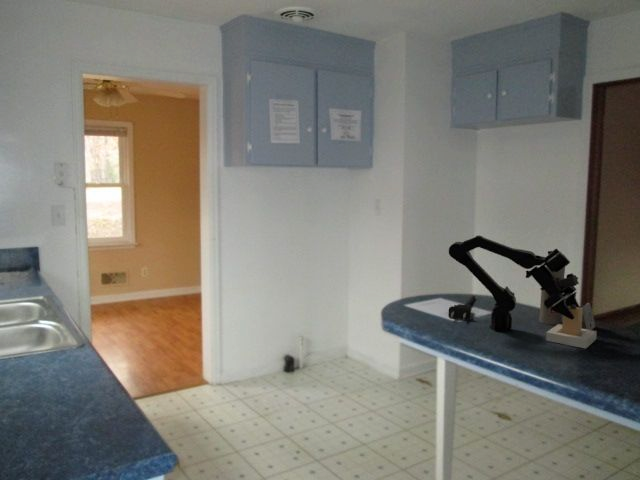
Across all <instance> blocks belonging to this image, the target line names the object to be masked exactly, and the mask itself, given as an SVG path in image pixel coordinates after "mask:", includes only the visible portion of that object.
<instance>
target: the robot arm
mask: <svg viewBox="0 0 640 480" xmlns="http://www.w3.org/2000/svg"><path fill="white" fill-rule="evenodd" d="M478 248H480V249H483V250H485V251H488V252H491V253H493V254H496V255H498V256H501V257H503V258H506V259H509V260H510V261H512V262H513V263H515V264H516V265H518V266H519V267H521V268H523V269H525V279H529V278H531V277H532V278H533V279H534V281H536V283H537V284H538V285H539V286H540V291H541V290H542V291H543V290H544V291H545V292H546V293H547V294H548V295H549V297H548V299H546V300H545V301H544V305H545V307H546V308H547V309H548V308H550V307H551V306H553V307H552V308H550V310H553V311H555V312H558V313H560V314H562V316H563V315H564V316H566V317H568V318H570V319H571V320H572V319H574V316H573V314H572V313H571V311H570V310H569V308H568V307H567V306H571V304H573V305H576V307H578V308H580V307H579V306H580V305H579V303H578V301H577V298H576V297H577V296H576V295H577V294H578V293H577V290H578V289H577V288H576V287H575V286H577V285H579V284H580V283H579V280H578V279H579V277H578V276H577V275H576V274H573V272H571V273H568V274H566V277H564V279H561V280H560V279H559V278H558V277H556V278H555V277H554V276H553V275H552V274H551V273H550V271H549V270H548V269H547V268H546V267H545V265H546V266H547V267H548V268H549V269H550V270H551V271H552V272H555V271H556V272H559V271H560V270H561V269H563V268H564V267H565V268H566V267H567V266H568V265H569V264H571V261H570V260H569V259H568V258H567V257H566V255H565V254H564V253H561V251H560V250H559V249H558V248H554V249H553V250H552V251H553V252H552V253H550V254H549V255H548V254H547V256H541V255H537V254H536V253H535V252H533V251H530V250H525V249H519V248H513V247H511V246H507V245H505V244H502V243H500V242H497V241H494V240H492V239H488V238H486V237H484V236H482V235H480V234H479V235H476V236H474V237H471V238H470V239H467V240H464V241H455V242H454V243H452V244H451V245H450V246H449V247H448V254H449V257H450V258H452V259H454V260H455V261H456V262H457V263H459V264H461V265H462V266H464V267H465V268H466V269H467V270H468V271H469V272H470V273H471V274H472V275H473V276H474V277H475V278H476V279H477V280H478V281H479V282H480V283H481V285H483V287H484V288H485V289H487V291H488V292H489V293H490V294H491V295H492V297H493V299H494V301H495V304H494V305H493V307H492V311H491V314H490V315H491V316H490V317H491V320H490V325H488V328H490V329H492V330H493V331H495V332H513V329H512V326H513V325H512V324H513V317H512V313H511V312H512V311H513V310H514V309H515V307H516V303H517V297H516V296H515V293H514V292H512V291H511V289H510V288H509V287H508V286H505V287H502V286H501V285H499V283H498V282H496V281H495V279H494V278H492V276H491V275H490V274H488V272H487V271H486V270H485V269H484V268H483V267H482V266H481V265H480V264H479V263H478V261H476V260H475V259H474V257H473V256H472V253H471V251H473V250H474V249H478ZM538 266H539V267H538ZM529 269H530V270H529ZM541 287H542V288H541Z"/></svg>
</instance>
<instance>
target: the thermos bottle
mask: <svg viewBox="0 0 640 480" xmlns="http://www.w3.org/2000/svg"><path fill="white" fill-rule="evenodd" d="M552 252H553V250H549V251H547V256H548V255H549V254H550V253H552ZM560 252H561V251H560ZM561 253H562V252H561ZM562 254H563V253H562ZM545 267H546V268H547V269H548V270H549V271H550V273H551V274H552V275H553V276H554V277H555V278H556V277H558V278H559V279H560V280H561V279H564V278H565V273H566V272H565V271H566V266H565V267H564V268H563V269H561V270H560V271H559V272H556V271H555V272H552V271H551V270H550V269H549V268H548V267H547V266H546V265H545ZM540 288H542V287H541V286H540ZM548 297H549V295H548V294H547V293H546V292H545V291H544V290H543V291H542V290H541V289H540V304H539V305H540V306H539V322H540V323H542V324H545V325H553V326H554V325H555V326H556V325H558V324H560V325H562V322H563V315H562V314H560V313H558V312H555V311H553V310H550V308H552V307H553V306H551V307H550V308H548V309H547V308H546V307H545V305H544V301H545V300H546V299H548Z"/></svg>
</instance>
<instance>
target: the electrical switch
mask: <svg viewBox="0 0 640 480" xmlns="http://www.w3.org/2000/svg"><path fill="white" fill-rule="evenodd" d="M579 307H580V308H583V314H582V329H588V330H593V329H595V328H596V323H595V319H594V315H593V314H594V313H593V309H592V307H591V303H590V302H587V303H585V304H584V305H579Z"/></svg>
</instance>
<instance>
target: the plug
mask: <svg viewBox="0 0 640 480" xmlns="http://www.w3.org/2000/svg"><path fill="white" fill-rule="evenodd" d="M567 307H568V308H569V310H570V311H571V313H572V314H573V316H574V319H572V320H571V319H570V318H568V317H566V316H564V315H562V322H561V325H562V333H564V334H569V335H574V336H579V337H581V335H582V332H581V328H582V314H583V308H578V307H576V305H573V304H571V306H567Z"/></svg>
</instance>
